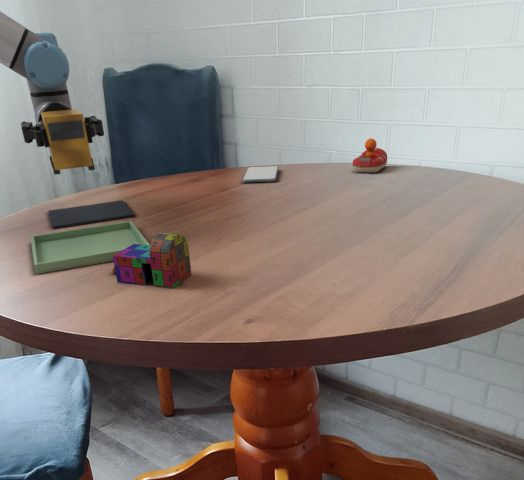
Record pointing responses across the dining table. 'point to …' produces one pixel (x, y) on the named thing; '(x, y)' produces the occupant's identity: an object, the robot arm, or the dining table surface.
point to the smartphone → (261, 174)
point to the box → (83, 246)
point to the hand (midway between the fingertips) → (67, 136)
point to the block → (154, 261)
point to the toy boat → (370, 158)
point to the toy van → (67, 140)
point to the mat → (89, 214)
